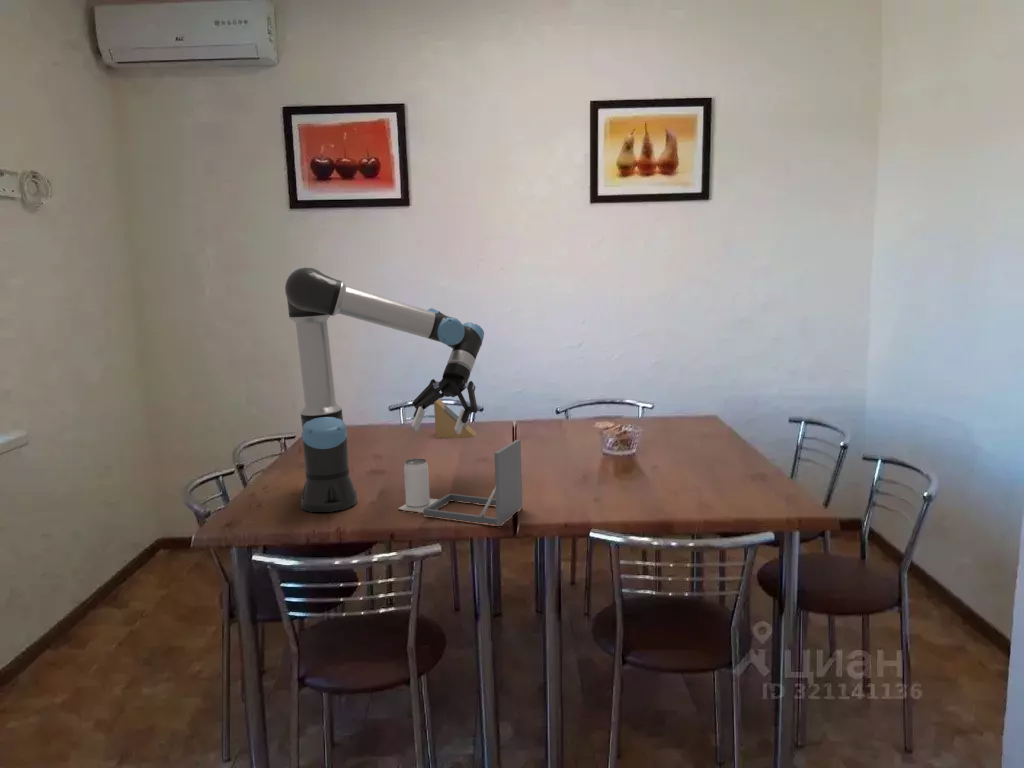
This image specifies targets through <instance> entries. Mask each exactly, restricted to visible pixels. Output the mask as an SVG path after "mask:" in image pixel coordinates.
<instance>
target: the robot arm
mask: <svg viewBox="0 0 1024 768" xmlns="http://www.w3.org/2000/svg"><path fill="white" fill-rule="evenodd" d="M284 288H285V289H284V290H285V291H284V292H285V295H286V296H285V297H286V300H287V301H286V302H287V309H288V316H289V317H288V318H289V319H290V320H291V321H292V322H293V323H295V331H296V338H297V346H298V355H299V363H300V370H301V371H300V373H301V380H302V390H303V396H304V397H303V399H304V407H303V409H301V410H300V420H301V429H302V430H301V431H302V432H301V439H302V447H303V459H304V472H305V481H304V482H305V483H304V485H303V490H302V495H301V499H300V505H301V509H302V508H303V509H304V510H303V509H302V510H303V511H305V510H306V511H305V512H307V511H311V512H310V513H312V512H330V513H334V512H333V511H337V512H339V511H338V510H342V511H344V510H343V509H345V510H347V509H346V508H348V509H350V508H349V507H351V506H353V505H354V506H356V505H357V504H356V503H358V502H357V501H358V492H357V490H356V489H355V487H354V484H353V483H354V482H353V481H352V478H351V476H350V469H349V468H350V467H349V466H350V465H349V449H348V430H347V424H346V423H345V421H344V418H343V409H342V406H341V405H339V404H338V403H337V402H336V393H335V385H334V375H333V374H334V373H333V365H332V356H331V345H330V338H329V330H328V329H329V327H328V319H329V318H330V317H335V316H336V315H338V314H339V315H343V316H346V317H350V318H353V319H356V320H360V321H363V322H364V321H365V322H367V323H371V324H375V325H377V326H382V327H386V328H390V329H393V330H395V331H400V332H404V333H408V334H411V335H414V336H419V337H422V338H425V339H429V340H431V341H435V342H440V343H442V344H444V345H446V346H447V347H449V348H451V349H452V351H451V353H450V356H449V357H448V360H447V363H446V366H445V368H444V371H443V373H442V379H441V380H440V381H436V380H435V379H434V378H433V379H431V380H430V382H429V384H428V385H427V386H426V387H425V388H424V389H423V390H422V392H420V393H419V394H418V396H416V398H414V400H412V401H411V404H412V406H413V408H414V409H415V411H414V414H413V421H412V424H411V427H412V428H413V430H414V431H415V432H418V431H419V429H420V425H421V424H422V421H423V418H424V416H425V413H426V411H425V409H427V408H429V407H430V406H432V405H434V402H435V401H437V400H438V399H443V398H444V397H445V398H448V397H452V398H456V397H457V398H458V399H459V401H460V403H461V406H462V407H463V409H460V412H459V415H458V420H457V422H456V425H455V428H454V430H455V431H456V433H457V434H460V433H461V430H462V427H463V425H464V423H466V424H467V423H468V421H469V417H470V415H471V414H473V413H474V414H476V413H478V404H477V399H476V394H475V393H476V392H475V391H476V385H475V384H474V382H473V381H472V380H470V381H469V379H470V376H471V373H472V371H473V368H474V365H475V362H476V360H477V357H478V354H479V352H480V350H481V346H482V344H483V341H484V337H485V331H484V329H483V328H482V327H481V326H480V325H479V324H478V323H473V322H470V321H469V322H464V323H462V322H461V321H460V320H459V319H458V318H455V317H451V316H449V315H446V314H444V313H442V312H441V311H440V310H437V309H436V308H433V307H431V308H428V309H424V308H421V307H418V306H414V305H410V304H407V303H404V302H400V301H397V300H394V299H391V298H386V297H384V296H380V295H377V294H374V293H370V292H367V291H364V290H360V289H356V288H353V287H349V286H346V284H345V282H344V281H342V280H339V279H336V278H334V277H331V276H329V275H326V274H324V273H322V272H321V271H320V270H318V269H316V268H313V267H300V268H298V269H295V270H293V271H292V272H291V273H290V274H289V275H288V277H287V279H286V282H285V286H284ZM465 390H467V393H468V397H469V398H468V399H469V404H470V405H468V402H467V401H466V399H465V397H464V395H463V393H462V392H464V391H465ZM355 504H356V505H355ZM354 506H353V507H354ZM351 508H352V507H351Z"/></svg>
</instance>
